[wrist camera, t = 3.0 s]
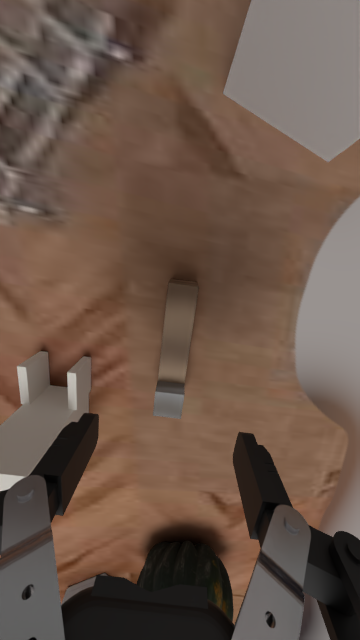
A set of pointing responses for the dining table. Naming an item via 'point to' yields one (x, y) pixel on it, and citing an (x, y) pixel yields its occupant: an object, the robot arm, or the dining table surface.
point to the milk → (301, 71)
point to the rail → (175, 347)
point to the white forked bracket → (40, 415)
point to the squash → (188, 571)
